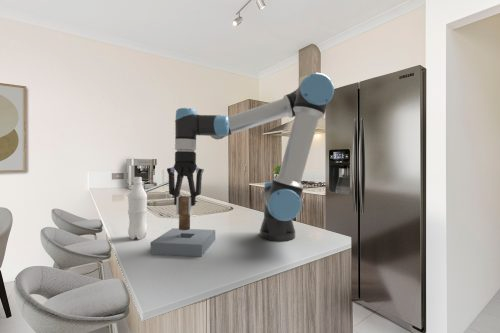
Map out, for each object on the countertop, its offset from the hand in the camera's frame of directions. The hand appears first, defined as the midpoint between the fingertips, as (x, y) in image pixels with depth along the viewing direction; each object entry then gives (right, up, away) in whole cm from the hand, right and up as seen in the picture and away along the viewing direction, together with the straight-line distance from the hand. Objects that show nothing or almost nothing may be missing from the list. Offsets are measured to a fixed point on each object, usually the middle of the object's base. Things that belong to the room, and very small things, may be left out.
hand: (184, 213), depth 94 cm
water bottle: (-22, -12, +10) cm, 27 cm away
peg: (0, -6, 0) cm, 6 cm away
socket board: (0, -12, 0) cm, 12 cm away
